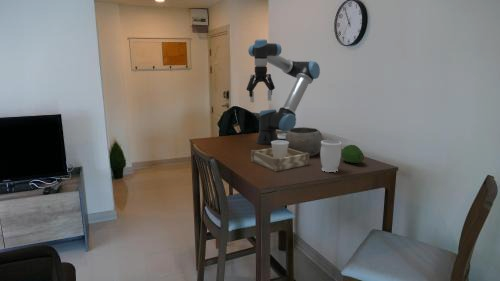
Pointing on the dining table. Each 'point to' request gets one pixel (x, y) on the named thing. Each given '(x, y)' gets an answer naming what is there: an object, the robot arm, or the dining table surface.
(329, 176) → the dining table surface
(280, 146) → the cup
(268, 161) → the crate
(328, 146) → the jar
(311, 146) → the bowl
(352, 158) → the fruit
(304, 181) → the dining table surface
